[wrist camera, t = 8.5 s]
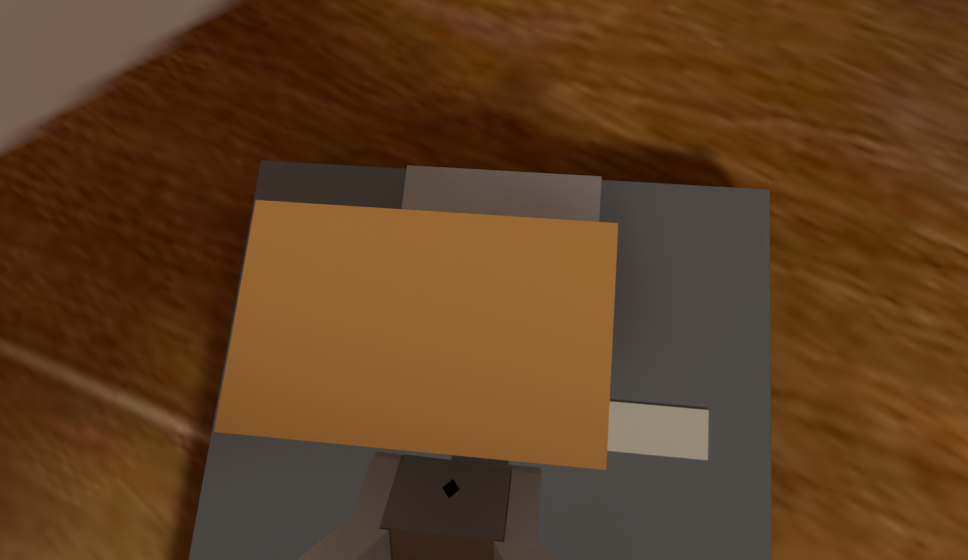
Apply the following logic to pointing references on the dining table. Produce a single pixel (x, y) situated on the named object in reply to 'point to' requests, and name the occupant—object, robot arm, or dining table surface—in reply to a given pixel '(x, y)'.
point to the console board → (633, 389)
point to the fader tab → (425, 333)
